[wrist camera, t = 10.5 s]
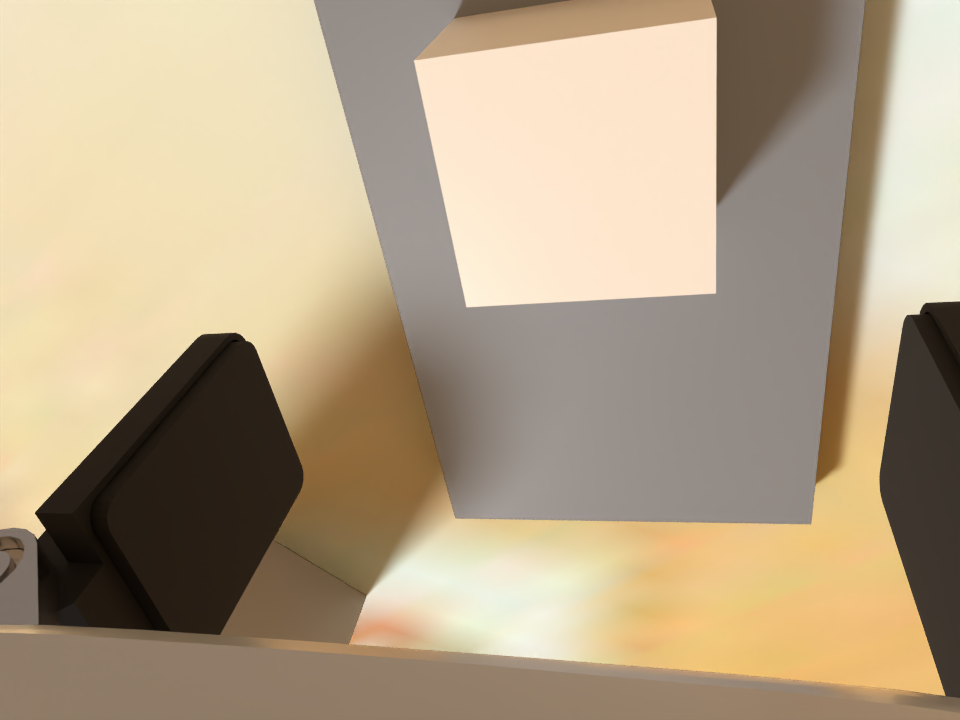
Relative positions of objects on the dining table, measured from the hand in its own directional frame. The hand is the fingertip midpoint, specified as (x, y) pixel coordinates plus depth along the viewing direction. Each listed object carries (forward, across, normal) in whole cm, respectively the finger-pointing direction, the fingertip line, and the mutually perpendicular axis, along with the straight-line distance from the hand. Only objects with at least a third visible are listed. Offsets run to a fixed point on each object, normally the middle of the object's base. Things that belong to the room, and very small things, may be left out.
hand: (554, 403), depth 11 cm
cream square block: (+11, 0, -1) cm, 11 cm away
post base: (+13, 0, +4) cm, 13 cm away
